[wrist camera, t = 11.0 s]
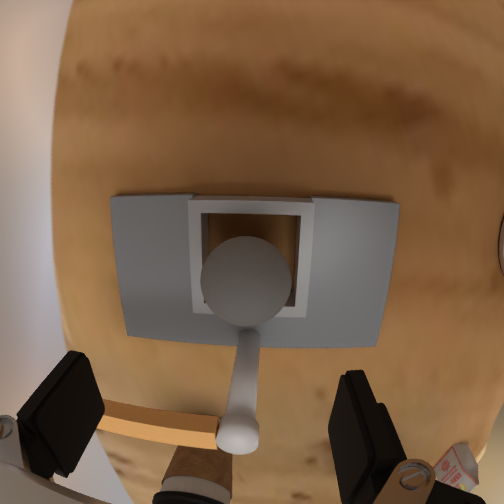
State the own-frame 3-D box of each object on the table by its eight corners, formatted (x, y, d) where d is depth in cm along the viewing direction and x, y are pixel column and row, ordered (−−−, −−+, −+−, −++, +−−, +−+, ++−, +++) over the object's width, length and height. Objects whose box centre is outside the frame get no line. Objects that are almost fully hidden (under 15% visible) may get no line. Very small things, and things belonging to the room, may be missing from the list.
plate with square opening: (393, 201, 25) (472, 234, 13) (371, 338, 29) (411, 422, 17) (117, 194, 26) (30, 222, 15) (133, 328, 30) (79, 403, 19)
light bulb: (264, 204, 26) (261, 231, 16) (298, 262, 27) (312, 318, 18) (205, 238, 27) (171, 281, 17) (240, 293, 28) (226, 357, 19)
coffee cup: (208, 398, 33) (182, 507, 18) (256, 434, 34) (249, 534, 20) (165, 421, 35) (132, 513, 20) (211, 453, 36) (193, 541, 22)
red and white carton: (466, 442, 35) (485, 481, 26) (446, 464, 37) (462, 502, 28) (452, 445, 35) (471, 486, 26) (432, 467, 37) (447, 506, 28)
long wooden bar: (63, 385, 18) (53, 397, 16) (259, 414, 17) (258, 431, 16) (74, 409, 19) (66, 421, 17) (259, 438, 18) (258, 455, 16)
